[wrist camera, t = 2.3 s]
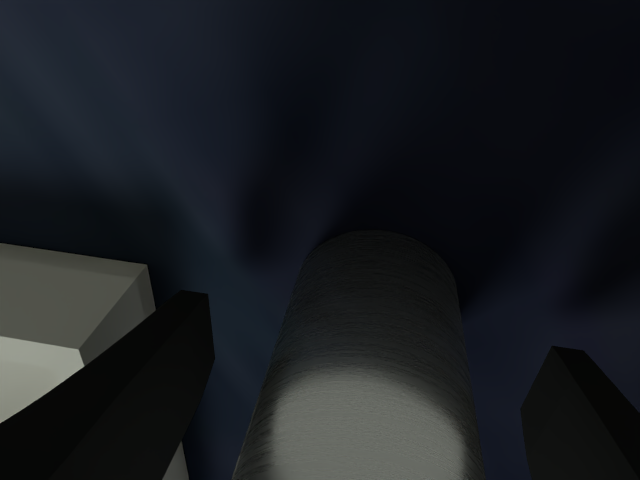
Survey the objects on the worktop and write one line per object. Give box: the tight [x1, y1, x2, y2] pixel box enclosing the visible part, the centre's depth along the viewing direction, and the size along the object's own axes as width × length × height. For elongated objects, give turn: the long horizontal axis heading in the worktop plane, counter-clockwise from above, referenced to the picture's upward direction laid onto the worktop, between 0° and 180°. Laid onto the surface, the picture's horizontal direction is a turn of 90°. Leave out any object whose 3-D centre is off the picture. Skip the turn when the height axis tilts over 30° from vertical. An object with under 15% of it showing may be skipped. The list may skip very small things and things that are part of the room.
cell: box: [232, 230, 486, 480], centre depth 8 cm, size 4×4×7 cm
